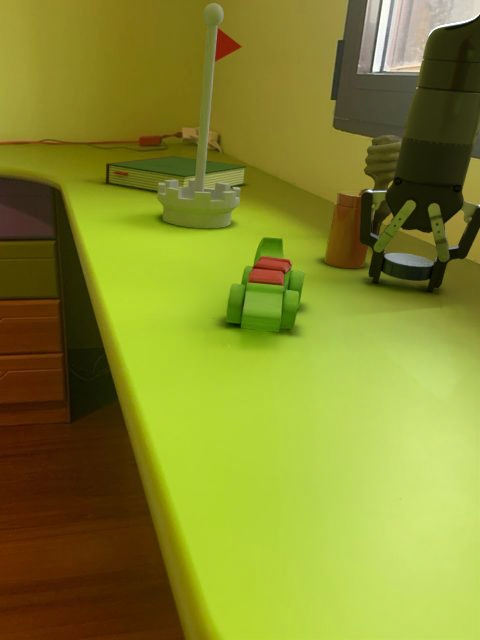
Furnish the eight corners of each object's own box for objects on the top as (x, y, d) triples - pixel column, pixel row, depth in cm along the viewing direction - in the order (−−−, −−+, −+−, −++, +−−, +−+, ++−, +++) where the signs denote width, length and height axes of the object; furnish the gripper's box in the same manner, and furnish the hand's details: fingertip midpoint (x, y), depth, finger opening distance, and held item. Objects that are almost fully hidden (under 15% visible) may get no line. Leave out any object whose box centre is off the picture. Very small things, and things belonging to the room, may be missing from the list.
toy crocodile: (288, 352, 61) (299, 285, 58) (215, 342, 62) (221, 276, 60) (303, 292, 78) (312, 238, 75) (245, 285, 79) (251, 232, 77)
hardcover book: (172, 173, 158) (173, 155, 156) (244, 184, 148) (246, 166, 147) (103, 183, 139) (103, 163, 137) (181, 197, 130) (182, 176, 128)
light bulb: (391, 246, 103) (414, 137, 95) (355, 244, 102) (375, 135, 95) (381, 237, 107) (402, 133, 100) (346, 235, 107) (365, 131, 100)
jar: (358, 259, 94) (371, 191, 90) (368, 269, 89) (383, 198, 85) (320, 257, 94) (331, 189, 90) (329, 267, 89) (341, 196, 85)
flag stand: (177, 230, 103) (193, -4, 89) (143, 213, 114) (153, 0, 100) (252, 228, 108) (278, 5, 94) (213, 211, 119) (231, 9, 105)
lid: (378, 275, 81) (381, 261, 80) (382, 263, 86) (385, 250, 85) (430, 284, 79) (434, 269, 78) (431, 271, 84) (435, 258, 83)
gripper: (368, 131, 74) (338, 284, 82) (512, 146, 70) (465, 305, 78) (375, 127, 80) (346, 269, 88) (507, 140, 76) (465, 288, 84)
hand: (402, 285), depth 83 cm, fingers closed on lid, 5 cm apart
